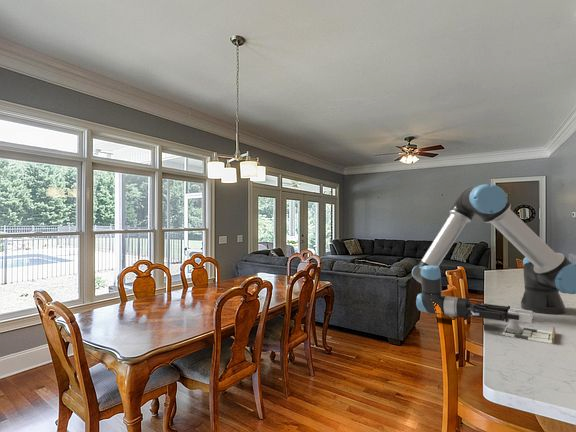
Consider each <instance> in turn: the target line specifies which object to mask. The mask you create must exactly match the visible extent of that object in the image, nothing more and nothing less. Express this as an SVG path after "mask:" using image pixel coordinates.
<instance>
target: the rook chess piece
mask: <svg viewBox="0 0 576 432" xmlns="http://www.w3.org/2000/svg"><path fill="white" fill-rule="evenodd" d="M511 309H512V310H511ZM511 309H509V311H508V312H516V313H518V312H517V310H516V309H517V308H511ZM513 309H514V310H513ZM507 325H508V326H507ZM507 325H506V326H507V329H506V331H507V333H509V332H510V333H509V334H513V333H515V335H521V333H523V330H521V326H520V324H519V321H514V320H508V323H507Z"/></svg>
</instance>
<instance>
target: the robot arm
mask: <svg viewBox="0 0 576 432" xmlns="http://www.w3.org/2000/svg"><path fill="white" fill-rule="evenodd" d="M507 197H508V195H507V194H506V192H505V191H504V189H503V188H502V187H500V186H498V185H496V184H492V183H491V184H488V183H486V184H485V183H483V184H480V185H479V184H478V185H477V186H472V187H468V188H467V189H464V190H463V191H462V192H461V193H460V194H459V195H458V197H457V198H456V200H455V201H454V203H453V204H452V207H450V210H449V211H448V212H449V216H447V219H446V221H445V222H444V224H443V225H442V227H441V228H440V230H439V232H438V233H437V235H436V236H435V238H434V240H433V241H432V243H431V244H430V246H429V247H428V249H427V250H426V252H425V254H424V255H423V256H422V258H421V260H420V261H419V263H418V264H417V265H415V266H414V267H413V268H412V270H411V276H412V277H413V279H414V280H415V281H416V282H417V283H420V284H421V292H420V293H417V296H416V300H415V303H416V304H415V305H416V308H417V310H418V311H420V312H424V313H428V314H436V315H438V314H437V313H435V311H436V309H435V310H434V308H435V306H437V304H438V305H439V307H440V308H441V311H442V312H443V314H444V313H445V314H444V316H449V317H450V318H452V317H458V318H461V319H469V318H470V317H471V315H472V318H477V319H488V320H496V321H502V322H505V323H509V320H514V321H518V322H522V323H523V322H524V323H531V324H532V322H533V321H532V320H533V319H534V318H533V317H534V316H533V315H534V313H533V312H535V313H539V314H551V315H553V314H557V315H558V314H559V315H560V314H564V313H565V312H566V306H565V303H564V300H563V299H562V297H561V294H560V293H562V294H569V295H576V263H573V262H572V261H571V260H570V259H568V257H566V256H565V255H564V254H563V253H561V252H555V251H554V250H553V249H552V248H551V247H550V246H549V245H548V244H547V243H546V242H544V240H542V238H541V237H539V236H538V235H537V234H536V233H535V232H534V231H533V230H532V229H531V228H530V227H529V226H528V225H527V224H526V223H525V222H524V221H523V220H522V219H521V218H520V217H519V216H518V215H517V214H516V213H515V212H513V210H512V209H511V206H512V204H511V202H510V201H508V199H507ZM475 216H478V218H480V219H481V221H483V222H484V224H491V225H492V226H494V227H495V229H496V230H497V231H499V233H501V234H502V236H504V237H505V239H506V240H508V242H510V243H511V244H512V245H513V247H514V248H516V249H517V250H518V251H519V252H520V253H521V254H522V255H523V256H524V258H523V260H522V267H523V282H524V292H523V295H522V296H521V301H520V308H521V309H520V308H519V309H517V308H511V306H510V305H508V306H507V305H499V304H498V305H497V304H490V303H483V302H479V303H478V302H477V303H473V304H472V303H471V301H470V299H469V298H465V297H457V296H449V295H447V296H445V295H443V293H442V274H441V268H440V265H441V264H442V262H443V260H444V258H445V257H446V255H447V254H448V253H449V251H450V249H451V248H452V246H453V245H454V243H455V241H456V240H457V238H458V237H459V236H460V234H461V232H462V231H463V229H464V227H465V226H466V225H467V224H468V223H470V222H471V221H472V220H473V219H474V217H475ZM431 294H432V295H431ZM431 299H432V300H431ZM432 302H434V303H432ZM435 303H436V305H435V306H433V305H434V304H435ZM509 309H511V310H512V309H513V310H514V309H516V310H517V312H518V313H516V312H508V311H509Z"/></svg>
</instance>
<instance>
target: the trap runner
mask: <svg viewBox="0 0 576 432" xmlns="http://www.w3.org/2000/svg"><path fill="white" fill-rule="evenodd" d="M507 326H508V324H507V325H506V326H505V328H504V330H503V332H502V334H501V336H502V335H505V336H504V337H508V336H511V337H510V338H514V337H516V338H515V339H520V338H521V339H522V340H527V341H532V342H533V341H534V342H538V343H539V342H540V343H546V344H552V345H555V340H556V327H552V331H548V330H541V329H534V328H528V327H521V326H520V327H521V331H522V334H513V333H509V332H506V331H507Z"/></svg>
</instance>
